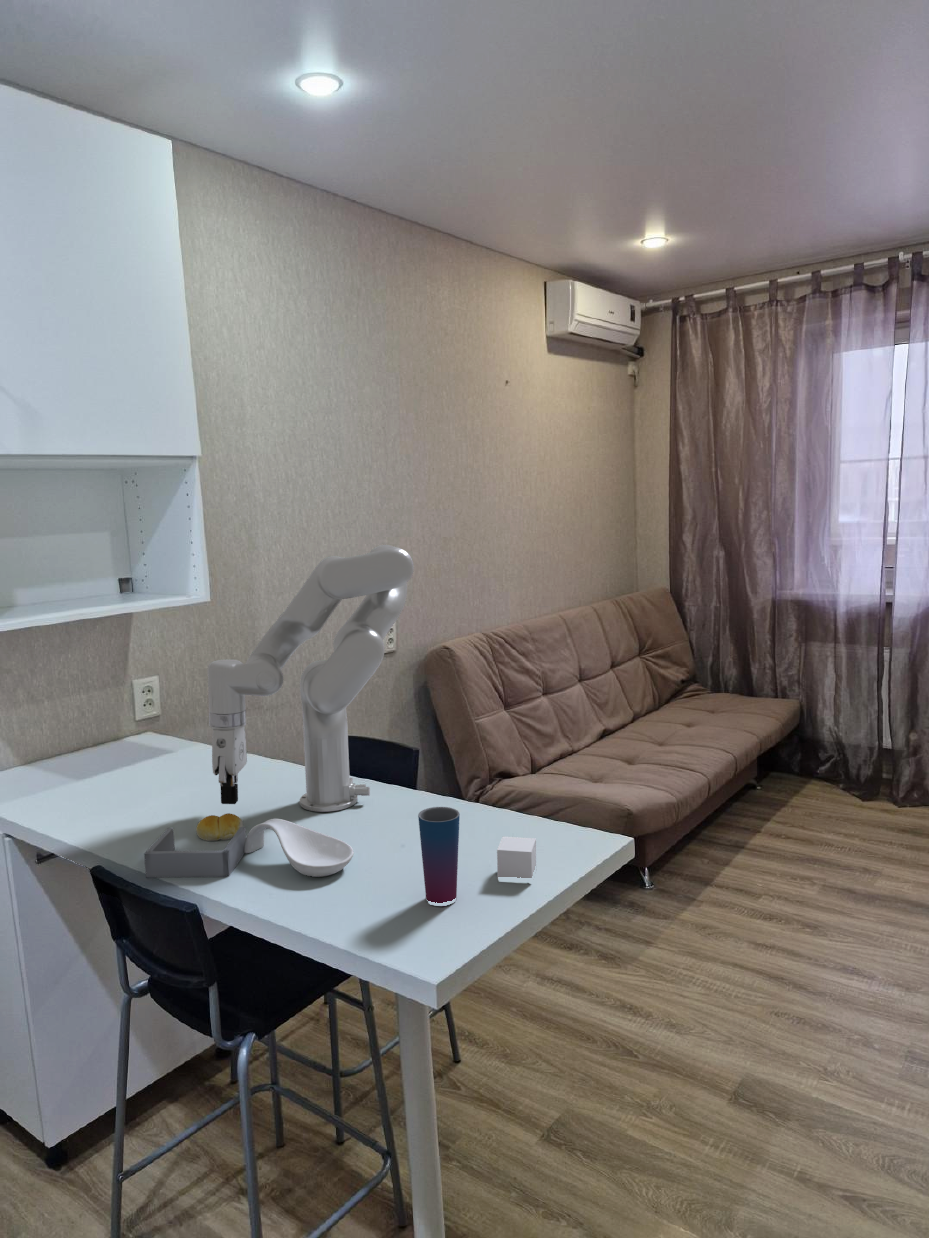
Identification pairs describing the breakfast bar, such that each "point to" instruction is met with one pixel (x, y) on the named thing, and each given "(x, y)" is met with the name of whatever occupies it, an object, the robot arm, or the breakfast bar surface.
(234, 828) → the bread roll
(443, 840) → the cup
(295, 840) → the spoon rest
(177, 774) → the breakfast bar surface
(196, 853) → the box
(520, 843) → the white cube
